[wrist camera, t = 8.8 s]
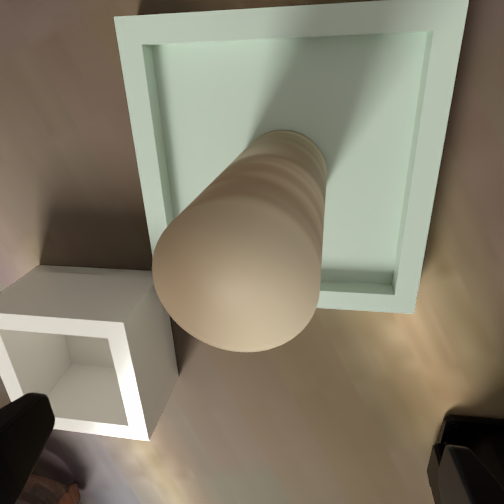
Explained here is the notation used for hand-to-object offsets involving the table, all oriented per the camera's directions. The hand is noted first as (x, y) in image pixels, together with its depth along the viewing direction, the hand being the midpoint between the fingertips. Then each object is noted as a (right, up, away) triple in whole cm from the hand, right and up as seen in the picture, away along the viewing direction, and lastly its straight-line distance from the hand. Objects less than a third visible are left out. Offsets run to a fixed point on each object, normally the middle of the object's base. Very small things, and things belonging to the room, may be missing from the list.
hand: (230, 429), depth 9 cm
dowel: (+2, +8, +9) cm, 12 cm away
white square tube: (-9, -1, +16) cm, 18 cm away
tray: (+2, +8, +10) cm, 13 cm away
